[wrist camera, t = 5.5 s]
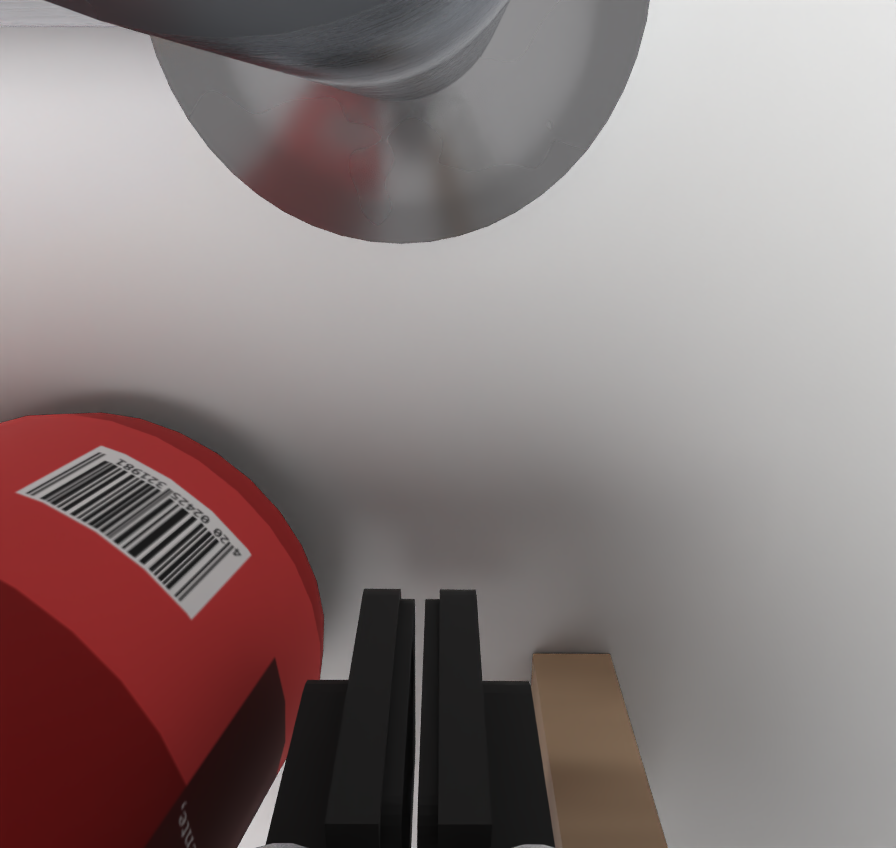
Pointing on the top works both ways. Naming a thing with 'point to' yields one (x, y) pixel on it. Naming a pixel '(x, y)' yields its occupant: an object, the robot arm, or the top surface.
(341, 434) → the top surface
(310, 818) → the robot arm
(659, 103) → the top surface
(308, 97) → the pivot base
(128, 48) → the top surface
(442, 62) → the double handled crank lever
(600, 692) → the brown wooden block
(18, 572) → the canned food
